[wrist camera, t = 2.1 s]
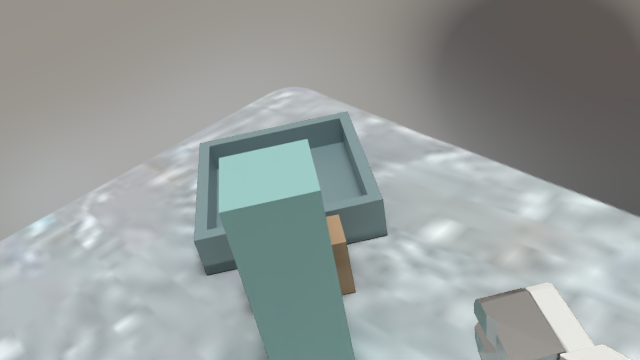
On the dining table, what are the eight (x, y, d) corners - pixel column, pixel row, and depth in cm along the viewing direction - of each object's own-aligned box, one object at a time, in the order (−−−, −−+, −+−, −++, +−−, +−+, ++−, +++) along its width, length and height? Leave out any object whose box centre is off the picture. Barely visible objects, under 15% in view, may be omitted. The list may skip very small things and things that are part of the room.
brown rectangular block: (255, 314, 33) (239, 265, 31) (253, 284, 35) (238, 236, 33) (355, 291, 33) (346, 241, 31) (347, 263, 35) (338, 214, 33)
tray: (207, 275, 37) (193, 241, 35) (210, 174, 46) (199, 143, 45) (387, 235, 37) (382, 199, 35) (352, 142, 47) (347, 111, 45)
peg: (281, 395, 28) (218, 212, 22) (275, 333, 32) (218, 158, 25) (358, 377, 29) (320, 190, 22) (344, 318, 32) (307, 138, 25)
